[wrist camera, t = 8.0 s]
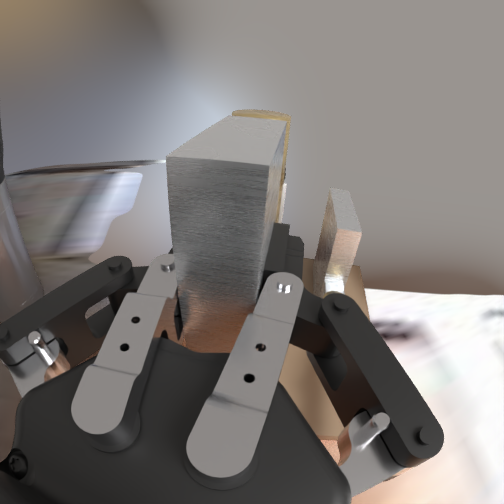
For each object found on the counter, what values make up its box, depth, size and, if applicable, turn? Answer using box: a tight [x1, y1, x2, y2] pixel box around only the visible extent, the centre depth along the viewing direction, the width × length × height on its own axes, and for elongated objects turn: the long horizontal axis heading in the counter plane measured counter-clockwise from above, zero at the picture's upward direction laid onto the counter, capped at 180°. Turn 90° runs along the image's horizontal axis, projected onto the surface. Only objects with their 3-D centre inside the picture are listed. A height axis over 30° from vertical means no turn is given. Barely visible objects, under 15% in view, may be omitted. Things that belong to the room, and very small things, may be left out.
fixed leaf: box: [313, 188, 362, 299], centre depth 32 cm, size 3×14×12 cm, turn 171°
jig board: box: [279, 258, 370, 440], centre depth 32 cm, size 12×26×1 cm, turn 171°
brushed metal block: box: [166, 110, 291, 353], centre depth 13 cm, size 8×3×12 cm, turn 170°
